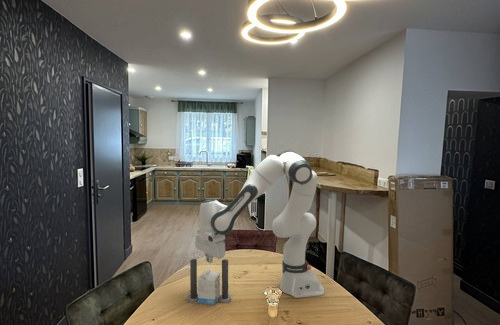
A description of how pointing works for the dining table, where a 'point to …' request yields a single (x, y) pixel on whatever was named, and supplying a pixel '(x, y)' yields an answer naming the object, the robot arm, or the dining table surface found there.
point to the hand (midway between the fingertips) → (209, 262)
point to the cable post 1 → (193, 282)
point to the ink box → (209, 287)
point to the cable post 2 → (225, 283)
